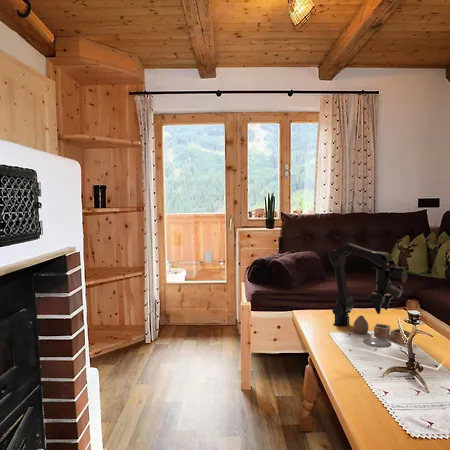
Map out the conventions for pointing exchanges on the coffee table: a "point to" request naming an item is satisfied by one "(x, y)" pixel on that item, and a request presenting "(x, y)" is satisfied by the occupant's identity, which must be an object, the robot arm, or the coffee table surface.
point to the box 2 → (398, 336)
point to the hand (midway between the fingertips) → (382, 311)
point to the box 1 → (382, 330)
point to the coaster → (377, 342)
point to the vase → (361, 325)
